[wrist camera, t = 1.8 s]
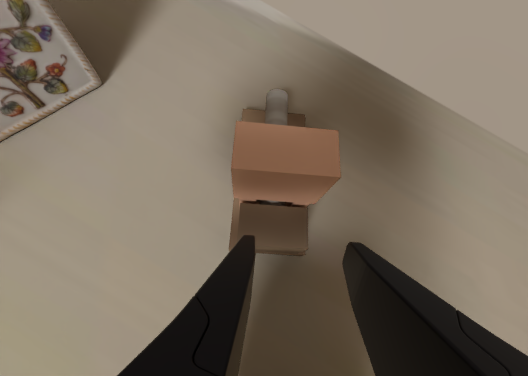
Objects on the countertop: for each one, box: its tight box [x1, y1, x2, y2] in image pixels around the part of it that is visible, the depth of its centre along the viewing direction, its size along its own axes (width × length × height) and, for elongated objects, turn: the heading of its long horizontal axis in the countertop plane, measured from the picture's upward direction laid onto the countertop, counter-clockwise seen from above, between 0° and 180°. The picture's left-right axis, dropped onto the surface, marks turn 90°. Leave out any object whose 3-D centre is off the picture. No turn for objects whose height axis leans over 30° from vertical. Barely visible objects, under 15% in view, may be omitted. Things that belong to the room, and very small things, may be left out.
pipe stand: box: [229, 89, 308, 256], centre depth 22 cm, size 14×6×5 cm, turn 177°
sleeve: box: [231, 121, 341, 208], centre depth 18 cm, size 3×6×8 cm, turn 87°
